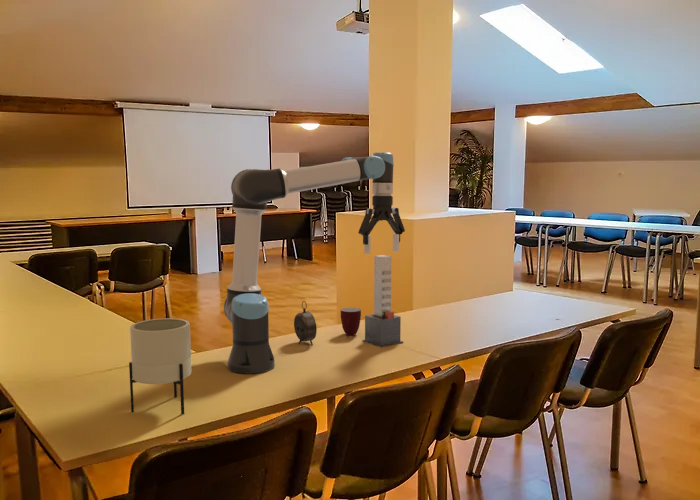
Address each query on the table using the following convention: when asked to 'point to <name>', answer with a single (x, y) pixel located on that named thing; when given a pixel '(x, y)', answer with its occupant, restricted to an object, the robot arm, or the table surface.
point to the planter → (160, 353)
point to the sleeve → (382, 330)
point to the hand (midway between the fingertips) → (381, 252)
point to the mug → (350, 320)
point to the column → (382, 285)
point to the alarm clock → (305, 326)
